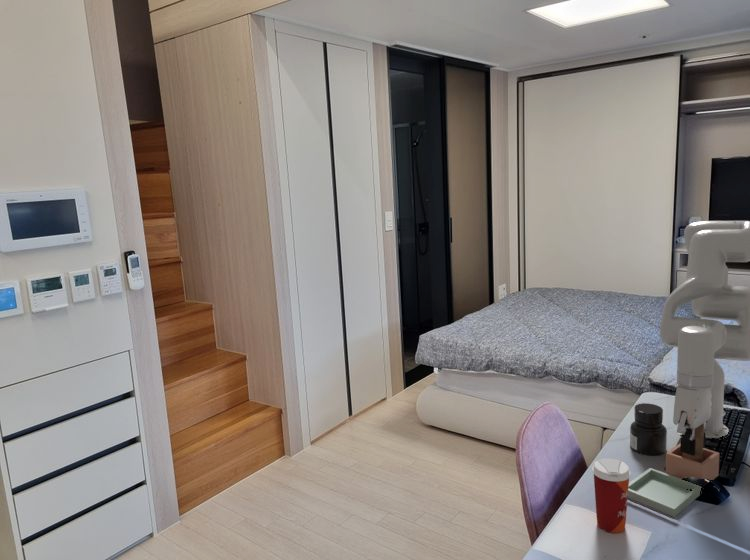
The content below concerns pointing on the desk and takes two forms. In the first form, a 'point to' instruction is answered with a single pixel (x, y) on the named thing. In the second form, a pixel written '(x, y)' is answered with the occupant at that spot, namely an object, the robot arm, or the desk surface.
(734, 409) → the desk surface
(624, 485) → the paper cup
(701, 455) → the walnut peg
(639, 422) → the ink bottle
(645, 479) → the sage tray
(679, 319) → the robot arm
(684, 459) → the terracotta box
